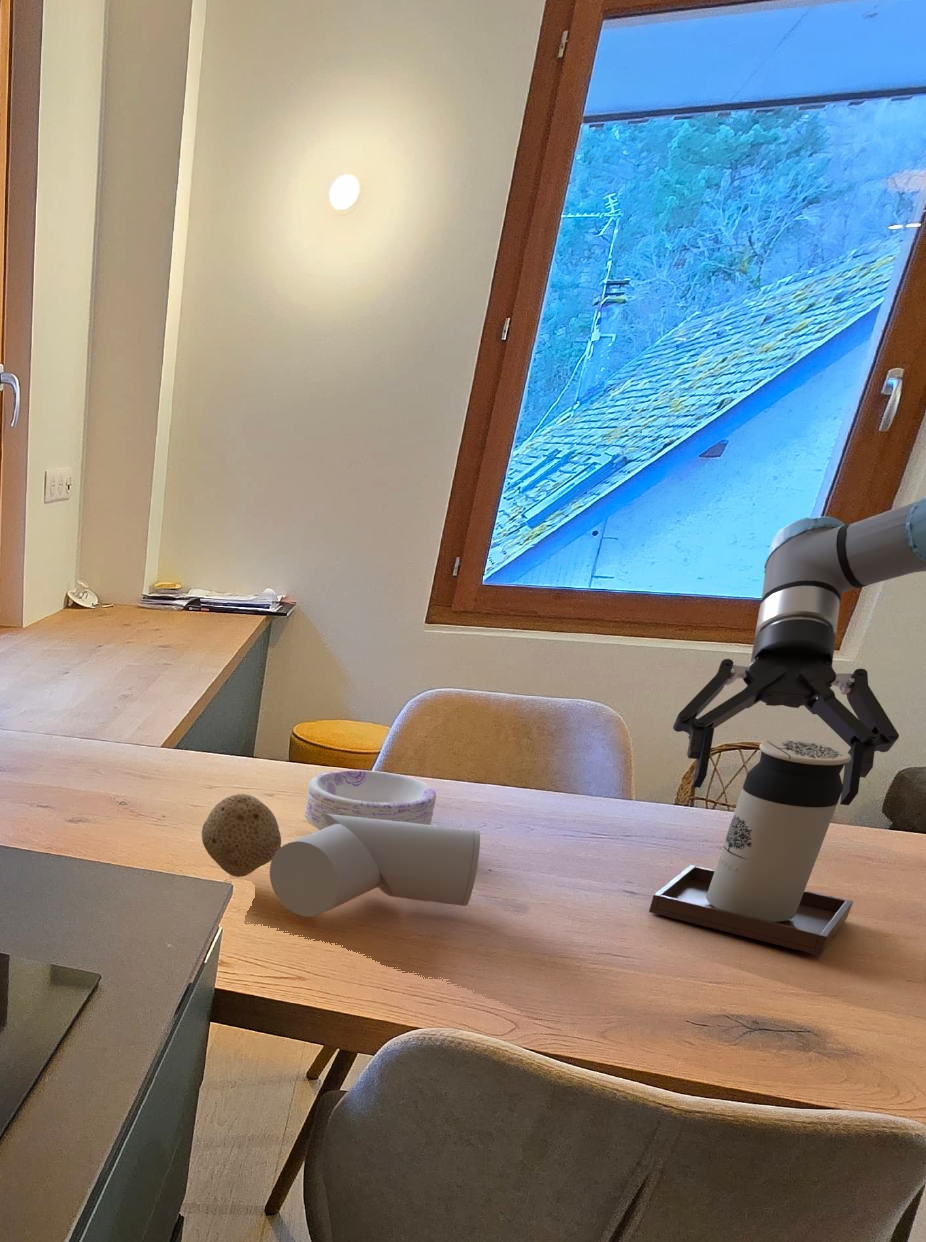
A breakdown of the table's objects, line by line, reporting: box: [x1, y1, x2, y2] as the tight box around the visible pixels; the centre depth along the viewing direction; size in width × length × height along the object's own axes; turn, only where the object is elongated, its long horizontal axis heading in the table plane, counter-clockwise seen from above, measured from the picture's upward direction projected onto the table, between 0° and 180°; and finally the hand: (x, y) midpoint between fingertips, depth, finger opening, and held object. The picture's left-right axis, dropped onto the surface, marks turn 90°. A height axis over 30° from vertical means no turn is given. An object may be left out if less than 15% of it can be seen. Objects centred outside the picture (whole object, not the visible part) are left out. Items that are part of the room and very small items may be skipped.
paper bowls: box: [304, 769, 437, 831], centre depth 134 cm, size 15×15×8 cm
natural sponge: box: [201, 793, 282, 878], centre depth 123 cm, size 9×9×10 cm
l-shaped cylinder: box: [269, 814, 481, 918], centre depth 115 cm, size 18×11×20 cm
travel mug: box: [706, 739, 851, 922], centre depth 110 cm, size 8×8×18 cm
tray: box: [648, 864, 854, 956], centre depth 114 cm, size 15×14×2 cm
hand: (772, 790), depth 116 cm, fingers open, 13 cm apart
